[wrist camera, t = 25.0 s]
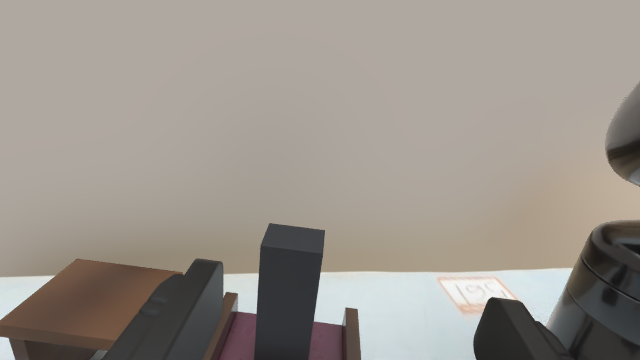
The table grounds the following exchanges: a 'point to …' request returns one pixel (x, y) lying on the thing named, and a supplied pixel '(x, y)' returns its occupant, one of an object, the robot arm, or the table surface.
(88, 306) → the walnut shelf
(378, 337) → the table surface
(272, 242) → the slim remote
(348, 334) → the cushioned bench
